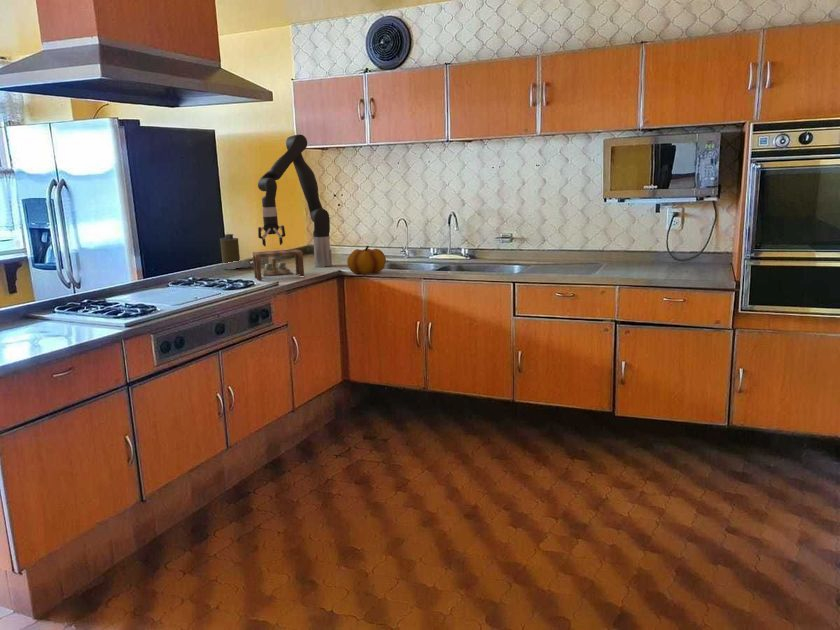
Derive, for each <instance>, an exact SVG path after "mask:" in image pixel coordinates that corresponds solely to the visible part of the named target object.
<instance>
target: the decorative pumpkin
mask: <svg viewBox="0 0 840 630" xmlns="http://www.w3.org/2000/svg"><path fill="white" fill-rule="evenodd" d="M348 255H349V256H347V259H346V260H347V261H346V263H347V267H348V269H349V270H350V272H352V273H353V274H356V275H364V276H368V275H371V274H373V275H376V274H379V273H380V272H382V270H384V268H385V265H386V262H387V261H386V260H387V258H386V255H385V253H384V252H383V251H382V250H380V248H379V249H378V248H373V249H370V246H369V245H366V247H365V248H364V249H359V248H358V249H354V250H353V251H351V253H350V254H348Z"/></svg>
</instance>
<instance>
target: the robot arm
mask: <svg viewBox="0 0 840 630" xmlns="http://www.w3.org/2000/svg"><path fill="white" fill-rule="evenodd" d="M285 146H286V152H284V154H282V155H281V156H280V157H279V158H278V159H277V160H276V161H275V162H274V163H273V165H272V166H271V167H270V169H269V170H268V171H267V172H266V173H264V174H263V175H262V176H261V177H260V178H259V180H258V182H257V188H258V189H259V190H260V191H261V192H265V195H264V196H262V198H261V202H262V219H263V227H261V226H258V227H257V231H258V232H257V233H258V236H257V237H258V239H261V240H262V245H263V246H264V247H266V238H267V236H268V235H276V236H278V240H279V241H278V242H279V245H280V246H282V245H283V238H285V237H286V230H285V225H283V224H282V225H279V223H278V222H279V221H278V210H277V203H276V196H277V191H278V190H277V189H278V184H277V182H276V181H278V180H280V179H281V178H282V177H283V175H284V174H285V172H286V171H287V169H288V168H289V166H291V164H292V163H293V167H294V169H295V173H296V175H297V179H298V181H299V184H300V187H301V189H302V192H303V195H304V199H305V200H306V203H307V207H308V210H309V216H310V219H311V221H312V222H313V232H312V236H313V237H312V238H313V239H312V241H313V252H314V253H313V254H314V265H315V267H316V268H324V267H325V266H327V267H332V266H333V264H332V262H333V261H332V258H333V257H332V249H331V243H330V242H331V241H330V232H331V221H330V220H331V219H330V214H329V212H328V211H327V210H326V209H324V208H323V205H322V203H321V201H320V197H319V185H318V181H317V179H316V176H315V172H314V171H313V169H312V168H311V167H310V166H309V165H308V163H307V162H306V160H305V159H304V156H303V154H302V153H303V152H304V151H305V150H306V149H307V147H308V140H307V137H306V136H304V134H295V135H291V136H288V137H287V138H286V141H285ZM279 229H280V230H281V233H280V232H279ZM263 231H264V233H263V235H262V232H263ZM331 265H332V266H331Z"/></svg>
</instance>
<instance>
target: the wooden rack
mask: <svg viewBox="0 0 840 630" xmlns="http://www.w3.org/2000/svg"><path fill="white" fill-rule="evenodd" d="M282 256H285V257H286V256H294V260H295V262H294V264H295V274H296V275H297V274H300V275H299V277H300V276H304V277H305V271H304V270H305V269H304V268H305V267H304V253H303V251H302V250H300V249H298V248H294V249H282V250H268V251H267V250H266V251H265V250H264V251H253V252H252V260H253V271H254V274H253V275H254V278H255V279H256V280H262V281H263V279H262V274H261V269H262V267H261V258H268V257H282Z"/></svg>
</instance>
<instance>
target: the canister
mask: <svg viewBox="0 0 840 630" xmlns="http://www.w3.org/2000/svg"><path fill="white" fill-rule="evenodd" d="M219 245H220V254H221V262H222V264H221V265H223V263H228V262H233V261H239V260H240V261H241V257H240V256H241V255H240V245H239V238H237V237H234V234H233V233H227V234H225V235H224V237H221V238H219Z"/></svg>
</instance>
